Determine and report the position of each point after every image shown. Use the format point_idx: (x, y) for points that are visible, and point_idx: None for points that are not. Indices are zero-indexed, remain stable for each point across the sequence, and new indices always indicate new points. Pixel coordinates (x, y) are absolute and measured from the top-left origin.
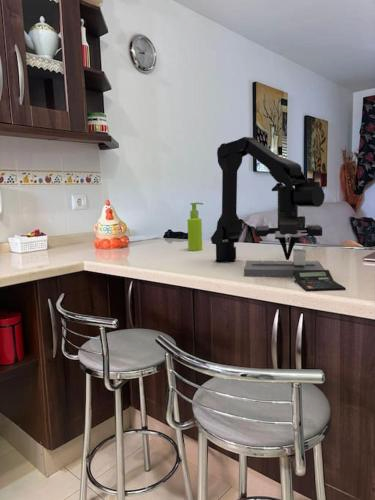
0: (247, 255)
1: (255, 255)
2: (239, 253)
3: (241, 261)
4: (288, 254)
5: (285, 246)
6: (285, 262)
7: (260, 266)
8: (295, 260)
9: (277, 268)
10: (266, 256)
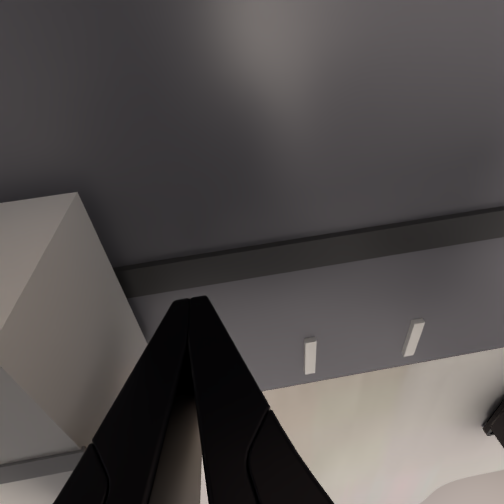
0: (407, 477)
1: (374, 483)
2: (430, 488)
3: (466, 402)
4: (173, 351)
5: (228, 481)
6: None
7: (492, 139)
8: (44, 232)
9: (299, 25)
10: (331, 484)
